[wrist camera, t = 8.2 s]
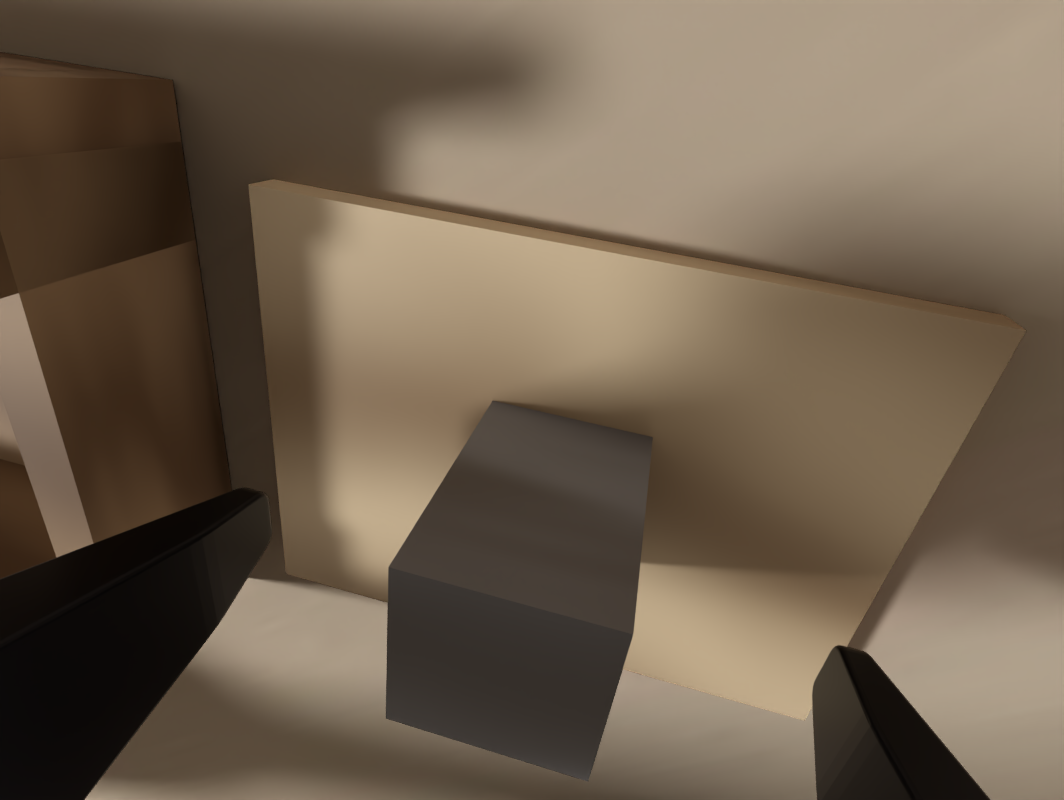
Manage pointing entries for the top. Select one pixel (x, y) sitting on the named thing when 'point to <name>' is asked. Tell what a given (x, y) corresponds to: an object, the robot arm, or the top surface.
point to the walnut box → (98, 313)
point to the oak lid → (593, 458)
